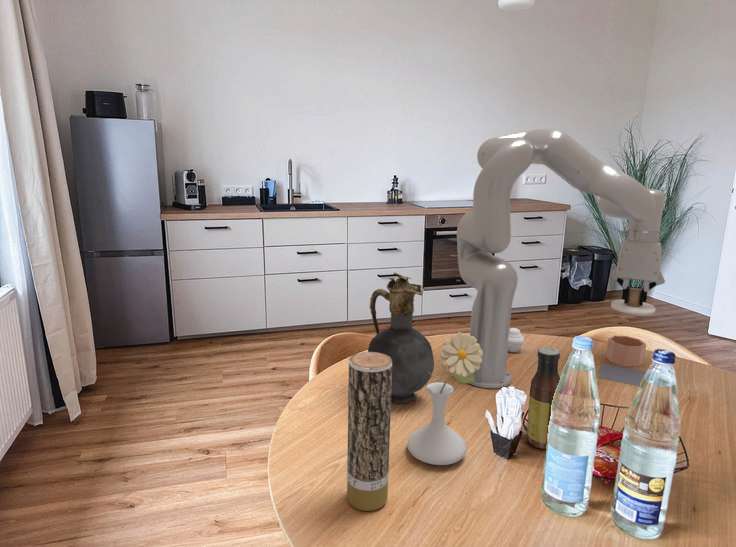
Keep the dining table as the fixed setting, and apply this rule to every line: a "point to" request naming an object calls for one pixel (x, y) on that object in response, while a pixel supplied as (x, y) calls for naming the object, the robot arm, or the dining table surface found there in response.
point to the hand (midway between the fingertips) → (633, 302)
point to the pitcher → (402, 341)
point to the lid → (633, 304)
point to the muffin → (515, 340)
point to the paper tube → (368, 429)
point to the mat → (621, 374)
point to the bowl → (626, 350)
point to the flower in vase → (437, 437)
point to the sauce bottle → (542, 396)
